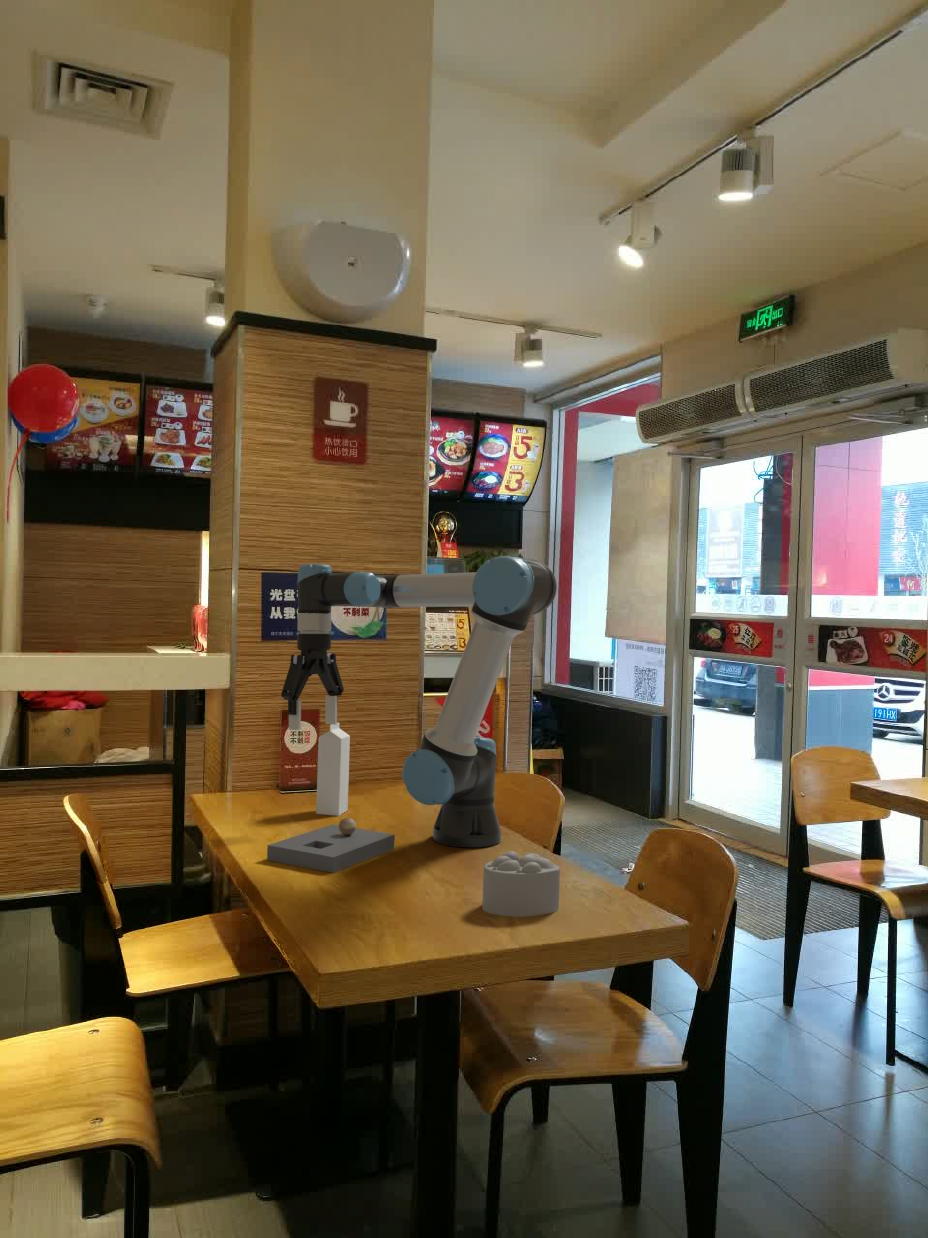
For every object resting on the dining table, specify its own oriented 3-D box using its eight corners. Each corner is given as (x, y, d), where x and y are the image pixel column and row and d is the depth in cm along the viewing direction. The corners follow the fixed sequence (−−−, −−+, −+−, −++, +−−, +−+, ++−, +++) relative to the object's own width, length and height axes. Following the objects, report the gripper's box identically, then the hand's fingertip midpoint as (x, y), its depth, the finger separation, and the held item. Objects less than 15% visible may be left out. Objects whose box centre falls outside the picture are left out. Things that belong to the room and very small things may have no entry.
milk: (315, 814, 228) (318, 724, 228) (325, 809, 234) (327, 721, 234) (339, 816, 227) (341, 725, 227) (348, 811, 233) (350, 722, 232)
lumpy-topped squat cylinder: (565, 911, 160) (567, 861, 160) (499, 921, 154) (501, 868, 154) (534, 894, 169) (535, 846, 169) (470, 902, 163) (472, 852, 163)
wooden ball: (359, 834, 197) (359, 817, 197) (349, 837, 193) (349, 820, 193) (344, 832, 198) (345, 815, 198) (334, 835, 195) (335, 818, 195)
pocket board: (394, 848, 197) (394, 834, 197) (333, 873, 178) (333, 857, 178) (332, 838, 205) (332, 824, 205) (266, 860, 185) (267, 845, 185)
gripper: (332, 632, 224) (332, 721, 224) (265, 632, 202) (264, 731, 202) (358, 632, 220) (358, 722, 220) (293, 633, 198) (292, 733, 198)
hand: (313, 727), depth 211 cm, fingers open, 13 cm apart
